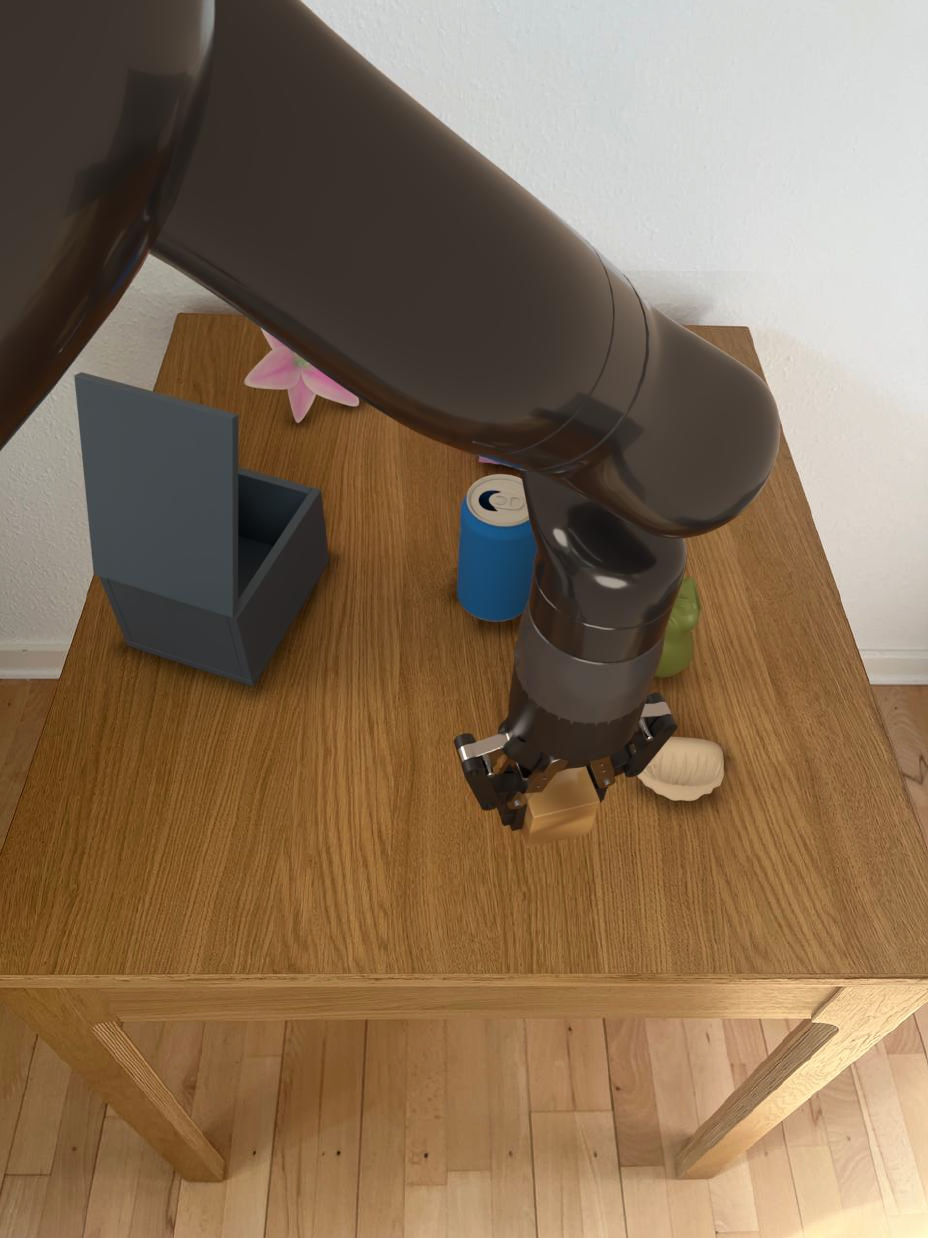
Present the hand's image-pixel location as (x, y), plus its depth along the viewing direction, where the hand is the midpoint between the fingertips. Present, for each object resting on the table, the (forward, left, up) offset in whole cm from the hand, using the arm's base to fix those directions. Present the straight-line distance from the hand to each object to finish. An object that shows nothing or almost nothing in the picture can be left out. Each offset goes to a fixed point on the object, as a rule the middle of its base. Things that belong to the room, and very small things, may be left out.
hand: (548, 808), depth 64 cm
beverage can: (+3, +23, -6) cm, 24 cm away
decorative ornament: (+11, +3, -6) cm, 13 cm away
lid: (-21, +24, +11) cm, 34 cm away
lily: (-8, +54, -6) cm, 55 cm away
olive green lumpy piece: (+14, +13, -6) cm, 20 cm away
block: (0, 0, 0) cm, 0 cm away
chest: (-19, +28, -5) cm, 34 cm away
